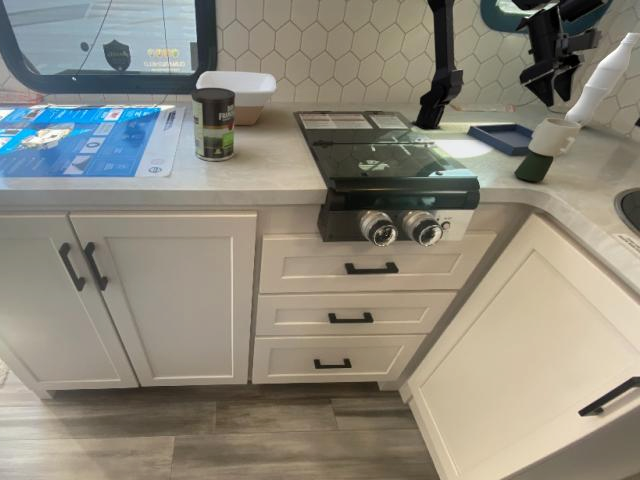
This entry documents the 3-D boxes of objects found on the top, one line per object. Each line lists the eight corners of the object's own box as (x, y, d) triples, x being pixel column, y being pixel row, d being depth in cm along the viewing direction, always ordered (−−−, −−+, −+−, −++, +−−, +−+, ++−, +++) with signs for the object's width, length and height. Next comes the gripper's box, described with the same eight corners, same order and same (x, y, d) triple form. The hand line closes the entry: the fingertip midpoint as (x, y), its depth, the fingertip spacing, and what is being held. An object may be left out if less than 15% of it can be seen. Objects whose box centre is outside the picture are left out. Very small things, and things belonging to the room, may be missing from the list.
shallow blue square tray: (509, 155, 96) (514, 147, 94) (466, 133, 108) (470, 125, 106) (560, 152, 99) (565, 143, 97) (513, 130, 111) (517, 123, 109)
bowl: (271, 108, 120) (274, 73, 112) (274, 133, 102) (278, 93, 95) (203, 105, 120) (202, 69, 112) (195, 130, 102) (192, 89, 95)
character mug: (556, 188, 82) (598, 131, 73) (529, 189, 81) (568, 131, 72) (524, 168, 90) (558, 114, 80) (499, 169, 89) (531, 114, 80)
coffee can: (241, 151, 92) (243, 91, 82) (219, 165, 85) (218, 101, 75) (210, 143, 95) (208, 84, 85) (186, 155, 89) (182, 93, 79)
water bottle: (564, 126, 116) (624, 33, 99) (558, 120, 121) (615, 30, 103) (588, 129, 114) (655, 36, 97) (582, 123, 119) (644, 33, 102)
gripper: (574, 12, 71) (588, 89, 73) (608, 10, 78) (620, 80, 81) (511, 49, 81) (526, 115, 83) (547, 44, 88) (560, 105, 91)
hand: (559, 103), depth 84 cm, fingers open, 9 cm apart
